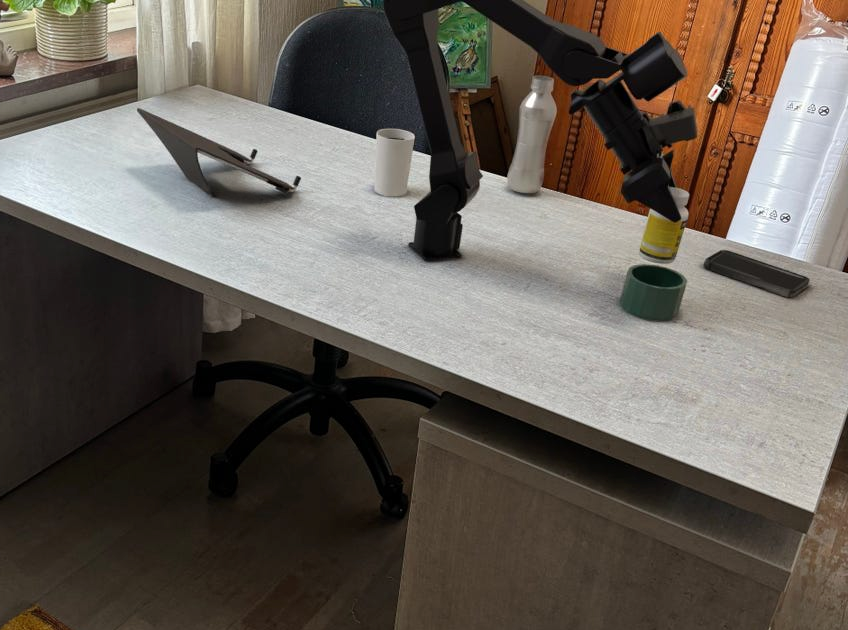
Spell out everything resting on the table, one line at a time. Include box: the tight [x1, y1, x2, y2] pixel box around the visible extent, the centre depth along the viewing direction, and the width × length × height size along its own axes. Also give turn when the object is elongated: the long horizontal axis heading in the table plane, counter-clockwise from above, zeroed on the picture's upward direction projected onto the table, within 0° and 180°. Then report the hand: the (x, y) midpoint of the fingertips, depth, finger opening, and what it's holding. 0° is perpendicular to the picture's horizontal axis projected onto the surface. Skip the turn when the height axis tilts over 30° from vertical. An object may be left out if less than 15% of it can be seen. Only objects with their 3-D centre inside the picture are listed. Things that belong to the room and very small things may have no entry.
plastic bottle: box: [506, 75, 558, 194], centre depth 174 cm, size 6×7×20 cm
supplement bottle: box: [638, 187, 690, 265], centre depth 139 cm, size 5×5×10 cm
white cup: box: [373, 128, 416, 198], centre depth 172 cm, size 7×7×10 cm
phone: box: [703, 249, 811, 298], centre depth 155 cm, size 8×1×15 cm
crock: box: [619, 263, 688, 322], centre depth 141 cm, size 8×8×5 cm
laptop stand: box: [136, 107, 302, 197], centre depth 168 cm, size 23×23×9 cm
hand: (678, 214), depth 137 cm, fingers closed on supplement bottle, 5 cm apart
